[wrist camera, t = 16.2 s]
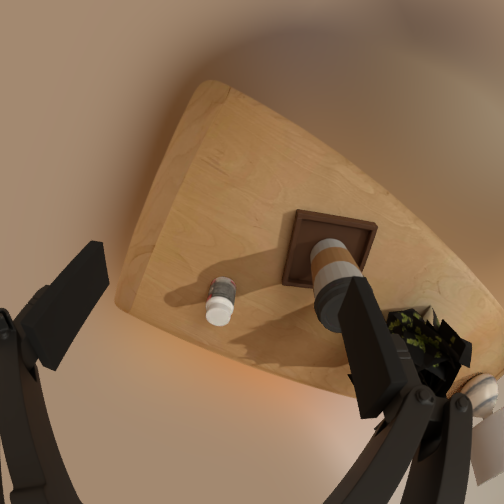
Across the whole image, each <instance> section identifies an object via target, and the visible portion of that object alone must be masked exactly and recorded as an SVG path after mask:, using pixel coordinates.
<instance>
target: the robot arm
mask: <svg viewBox="0 0 504 504" xmlns="http://www.w3.org/2000/svg"><path fill="white" fill-rule="evenodd" d="M108 285H109V278H108V273H107V267H106V261H105V254H104V248H103V242H97V241H90V242H89V243H88V244H87V245H86V246H85V247H84V248H83V249H82V250H81V252H80V253H79V254H78V255H77V256H76V257H75V258H74V259H73V260H72V261H71V262H70V263H69V264H68V265H67V267H66V268H65V269H64V270H63V271H62V272H61V273H60V274H59V276H58V277H57V278H56V279H55V280H54V281H53V282H52V283H51V285H45V286H44V287H42V288H41V289H40V290H38V291H37V292H36V293H35V295H34V296H33V298H31V300H30V301H29V302H28V304H26V305H25V307H24V308H23V309H22V310H21V312H20V313H19V314H18V315H17V317H16V318H15V319H14V321H12V319H11V316H10V314H9V312H8V311H7V310H6V309H4V308H0V435H1V440H2V445H3V449H4V454H5V458H6V462H7V465H8V469H9V473H10V476H11V480H12V483H13V491H12V492H11V493H10V501H11V504H83V503H82V502H81V501H80V499H79V498H78V496H77V494H76V491H75V489H74V487H73V485H72V483H71V480H70V478H69V475H68V473H67V471H66V468H65V465H64V463H63V461H62V458H61V455H60V452H59V450H58V446H57V443H56V440H55V437H54V434H53V431H52V428H51V424H50V421H49V417H48V413H47V409H46V405H45V401H44V397H43V393H42V388H41V383H40V378H39V373H38V368H37V366H36V361H37V359H38V358H39V360H40V362H41V363H42V365H43V366H44V367H46V368H49V369H51V370H54V371H56V369H57V368H58V366H59V364H60V362H61V360H62V359H63V357H64V355H65V353H66V352H67V350H68V348H69V347H70V345H71V343H72V342H73V340H74V338H75V337H76V335H77V333H78V332H79V330H80V328H81V327H82V325H83V324H84V322H85V320H86V319H87V317H88V316H89V314H90V312H91V311H92V309H93V308H94V306H95V305H96V303H97V302H98V300H99V299H100V297H101V296H102V294H103V293H104V291H105V290H106V288H107V287H108ZM337 317H338V321H339V324H340V328H341V332H342V336H343V340H344V344H345V348H346V352H347V357H348V361H349V365H350V370H351V374H352V379H353V383H354V388H355V392H356V397H357V402H358V407H359V411H360V417H361V419H367V418H377V417H378V416H379V414H380V413H381V412H382V411H383V413H384V417H385V418H384V419H383V420H382V421H381V422H380V423H379V424H378V425H377V426H376V427H375V428H374V430H376V429H377V430H376V431H375V433H374V434H373V436H372V438H371V439H370V441H369V443H368V444H367V445H366V447H365V448H364V450H363V451H362V453H361V454H360V456H359V457H358V459H357V460H356V462H355V463H354V464H353V466H352V467H351V469H350V470H349V471H348V473H347V474H346V475H345V477H344V478H343V479H342V480H341V482H340V483H339V484H338V486H337V487H336V488H335V489H334V491H333V492H332V493H331V495H329V497H328V498H327V499H326V500H325V501H324V503H323V504H387V503H388V502H389V500H390V498H391V497H392V495H393V493H394V492H395V490H396V488H397V487H398V485H399V483H400V481H401V479H402V477H403V476H404V474H405V472H406V470H407V468H408V466H409V464H410V462H411V460H412V463H411V467H410V471H409V475H408V479H407V482H406V486H405V490H404V493H403V496H402V499H401V503H400V504H464V501H465V495H466V490H467V483H468V475H469V467H470V458H471V446H472V420H473V419H472V417H473V407H472V403H471V401H470V399H469V398H468V397H467V396H466V395H465V394H463V393H455V394H453V395H452V396H451V398H450V399H446V398H442V397H437V396H435V394H434V393H433V391H432V390H431V389H430V388H429V387H428V386H425V385H422V383H421V381H420V378H419V376H418V373H417V370H416V368H415V365H414V363H413V360H412V359H411V355H410V353H409V352H408V348H407V346H406V343H405V341H404V340H403V339H402V338H401V337H400V336H399V334H390V332H389V329H388V327H387V324H386V322H385V320H384V317H383V315H382V312H381V310H380V308H379V306H378V303H377V301H376V299H375V296H374V294H373V292H372V290H371V288H370V285H369V283H368V281H367V279H366V277H360V276H352V279H351V281H350V284H349V287H348V289H347V292H346V295H345V297H344V300H343V302H342V305H341V307H340V310H339V312H338V315H337ZM0 504H5V502H4V495H3V486H2V476H1V462H0Z"/></svg>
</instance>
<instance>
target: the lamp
mask: <svg viewBox="0 0 504 504" xmlns="http://www.w3.org/2000/svg"><path fill="white" fill-rule="evenodd" d="M460 393H463V394H465V395H466V396H467V397H468V398H469V399H470V401H471V403H472V407H473V416H474V417H481V418H483V421H481V422H480V423H479V424H477V425H476V426H475V427H473V428H472V446H471V458H470V459H471V463H472V466H473V469H474V474H475V478H476V481H477V485H478V486H480V485H482V484H484V483H485V482H487V481H489V480H491V479H492V478H494V477H496V476H498V475H499V474H501V473H503V472H504V407H503V408H501V409H499V410H498V411H496V412H495V413H493V412H492V410H493V408H494V406H495V404H496V401H497V397H498V384H497V381H496V379H495V377H494V376H492V375H491V374H488V373H484V374H479V375H477V376H475V377H473V378H472V379H471V380H469V381H468V382H467V383H466V384H465V385H464V387H463V388H462V390H461V392H460Z"/></svg>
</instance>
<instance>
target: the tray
mask: <svg viewBox="0 0 504 504" xmlns="http://www.w3.org/2000/svg"><path fill="white" fill-rule="evenodd" d="M377 229H378V226H377V225H376V224H375V223H374V222H369V221H363V220H358V219H352V218H347V217H341V216H335V215H330V214H324V213H317V212H311V211H305V210H299V209H297V212H296V217H295V222H294V227H293V231H292V236H291V241H290V245H289V250H288V254H287V259H286V264H285V268H284V272H283V277H282V285H286V286H294V287H303V288H311V289H313V282H312V272H311V259H310V255H311V251H312V249H313V248H314V246H315V245H316V244H317V243H318V242H320V241H322V240H324V239H336V240H339V241H341V242H342V243H343V244H344V245H345V247H346V248H347V250H348V251H349V252H350V254H351V256H352V257H353V259H354V261H355V262H356V264H357V265H358V267H359V269H360V270H361V272H362V271H363V269H364V266H365V263H366V261H367V258H368V255H369V252H370V249H371V246H372V244H373V241H374V238H375V235H376V232H377Z"/></svg>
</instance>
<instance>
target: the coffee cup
mask: <svg viewBox="0 0 504 504" xmlns="http://www.w3.org/2000/svg"><path fill="white" fill-rule="evenodd" d="M310 259H311V272H312V282H313V291H314V296H315V302H314V309H315V312H316V314H317V317H318V320H319V321H320V322H321V323H322V324H323V325H324V327H325V328H326V329H328V330H330V331H332V332H336V333H342V332H341V328H340V324H339V321H338V317H337V315H338V312H339V310H340V307H341V305H342V302H343V300H344V297H345V295H346V292H347V289H348V287H349V284H350V281H351V279H352V276H360V277H364V276H363V274H362V272H361V270H360V269H359V267H358V265H357V264H356V262H355V261H354V259H353V257H352V256H351V254H350V252H349V251H348V250H347V248H346V247H345V245H344V244H343V243H342V242H341V241H339V240H336V239H324V240H322V241H320V242H318V243H317V244H316V245H315V246H314V248H313V249H312V251H311V255H310ZM369 285H370V284H369ZM370 288H371V286H370ZM371 290H372V288H371ZM372 292H373V290H372Z"/></svg>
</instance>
